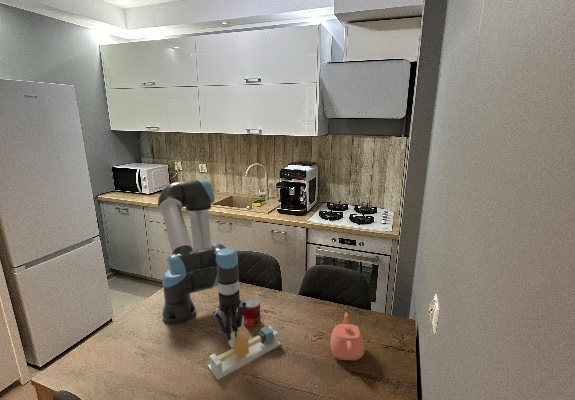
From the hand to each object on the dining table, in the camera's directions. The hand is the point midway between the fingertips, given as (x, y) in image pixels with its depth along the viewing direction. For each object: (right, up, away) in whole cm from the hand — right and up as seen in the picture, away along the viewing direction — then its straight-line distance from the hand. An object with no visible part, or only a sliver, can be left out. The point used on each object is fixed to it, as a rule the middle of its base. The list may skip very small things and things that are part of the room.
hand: (232, 345), depth 120 cm
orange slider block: (+3, -4, +3) cm, 6 cm away
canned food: (+5, -2, +26) cm, 26 cm away
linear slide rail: (+5, -7, +6) cm, 10 cm away
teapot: (+45, -6, +7) cm, 46 cm away
